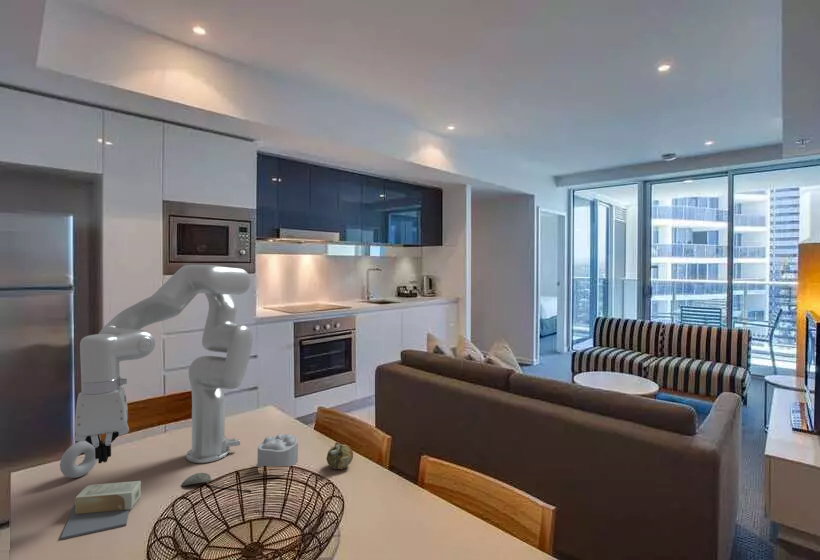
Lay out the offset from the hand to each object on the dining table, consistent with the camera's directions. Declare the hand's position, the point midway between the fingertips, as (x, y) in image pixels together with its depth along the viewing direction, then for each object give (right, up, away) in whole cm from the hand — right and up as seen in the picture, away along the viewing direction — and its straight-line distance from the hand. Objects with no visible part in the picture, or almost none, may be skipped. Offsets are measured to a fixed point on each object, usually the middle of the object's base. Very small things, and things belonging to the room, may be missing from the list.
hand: (103, 460), depth 105 cm
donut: (-19, -12, +18) cm, 29 cm away
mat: (0, -13, 0) cm, 13 cm away
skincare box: (+6, -10, +4) cm, 12 cm away
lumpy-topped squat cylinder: (+35, -13, +27) cm, 46 cm away
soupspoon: (+22, -14, +14) cm, 29 cm away
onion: (+53, -14, +27) cm, 61 cm away
